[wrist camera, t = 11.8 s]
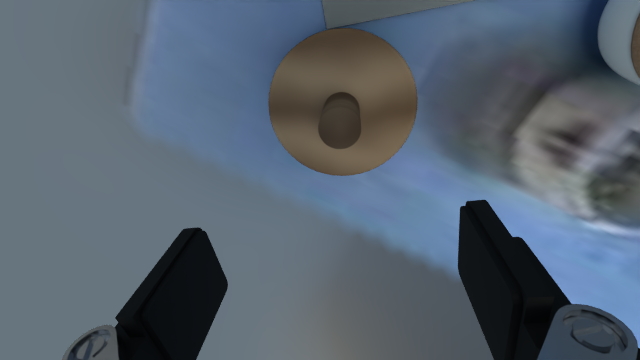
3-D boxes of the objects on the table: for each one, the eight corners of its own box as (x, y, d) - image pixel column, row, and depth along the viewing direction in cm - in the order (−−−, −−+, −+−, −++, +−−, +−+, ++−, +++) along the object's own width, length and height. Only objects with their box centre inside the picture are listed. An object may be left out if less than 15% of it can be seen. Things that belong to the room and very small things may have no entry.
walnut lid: (253, 44, 26) (230, 52, 21) (412, 12, 24) (428, 13, 19) (288, 179, 32) (277, 210, 27) (418, 163, 30) (432, 194, 25)
